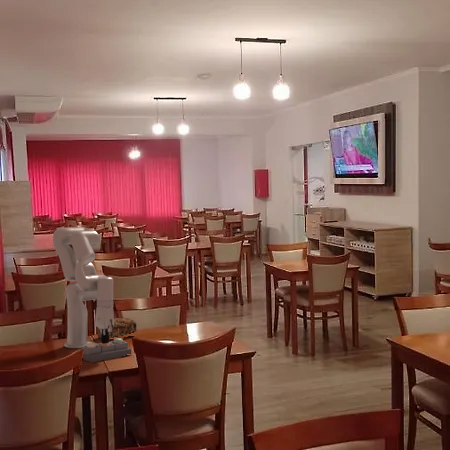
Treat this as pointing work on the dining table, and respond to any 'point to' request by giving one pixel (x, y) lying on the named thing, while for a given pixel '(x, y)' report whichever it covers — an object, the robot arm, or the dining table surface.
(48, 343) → the dining table surface
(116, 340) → the sage button
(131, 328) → the bread
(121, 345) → the button panel
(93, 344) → the cream button
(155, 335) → the dining table surface
